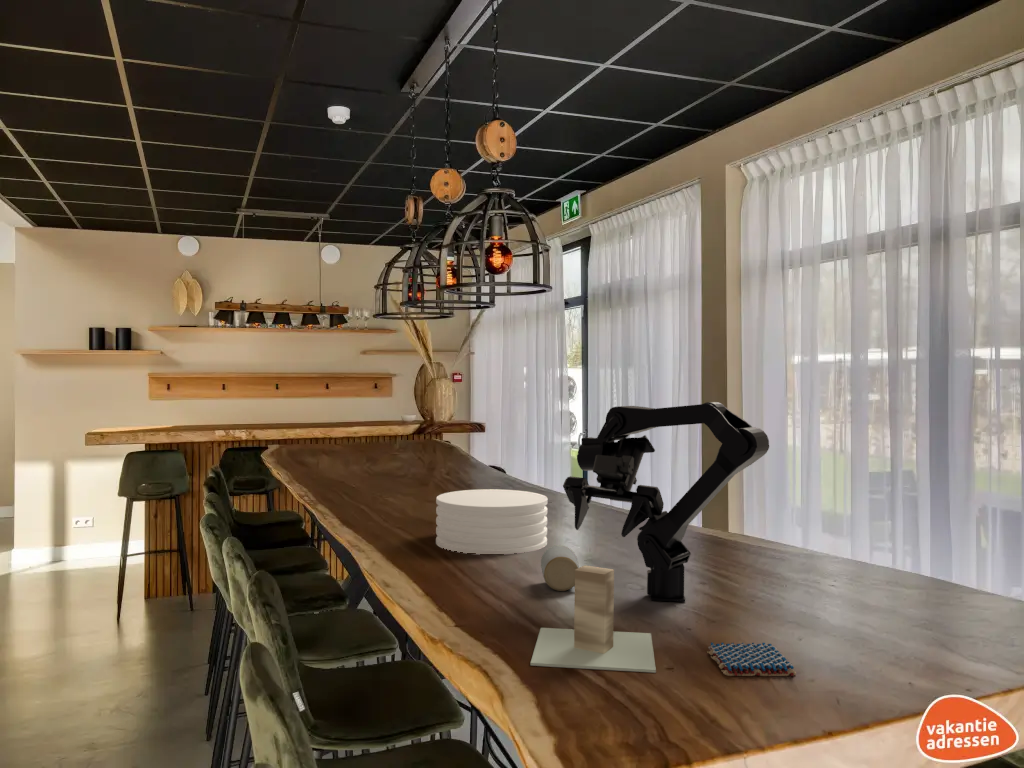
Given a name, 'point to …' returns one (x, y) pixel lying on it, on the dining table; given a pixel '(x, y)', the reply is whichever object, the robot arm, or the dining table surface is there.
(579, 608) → the beige rectangular block
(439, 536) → the plate stack
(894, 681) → the dining table surface
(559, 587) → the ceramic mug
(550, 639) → the sage placemat
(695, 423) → the robot arm
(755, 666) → the woven mat
